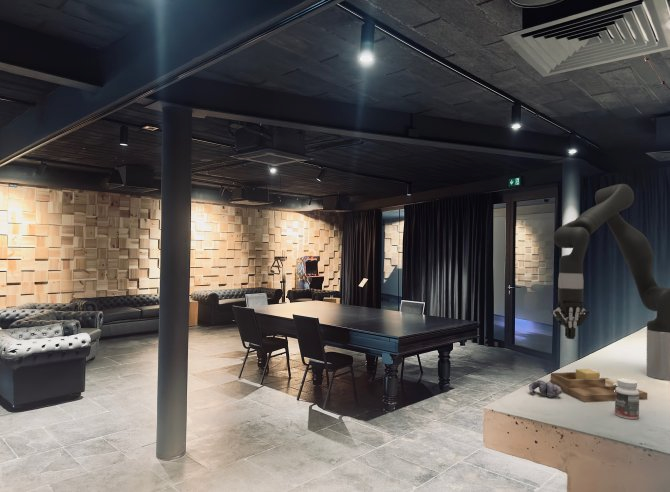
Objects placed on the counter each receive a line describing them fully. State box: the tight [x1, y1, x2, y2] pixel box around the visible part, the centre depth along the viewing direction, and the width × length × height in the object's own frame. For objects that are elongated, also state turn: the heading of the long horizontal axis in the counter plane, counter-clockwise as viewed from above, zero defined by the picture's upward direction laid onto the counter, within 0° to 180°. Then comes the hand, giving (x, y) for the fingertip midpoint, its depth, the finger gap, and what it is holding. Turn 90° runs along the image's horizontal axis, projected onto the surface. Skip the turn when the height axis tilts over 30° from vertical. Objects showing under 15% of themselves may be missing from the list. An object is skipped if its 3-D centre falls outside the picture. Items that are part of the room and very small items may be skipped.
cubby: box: [550, 371, 605, 388], centre depth 152 cm, size 14×9×2 cm, turn 99°
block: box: [575, 368, 601, 379], centre depth 153 cm, size 5×5×4 cm
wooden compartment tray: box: [549, 377, 648, 403], centre depth 150 cm, size 22×17×2 cm
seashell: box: [528, 379, 564, 398], centre depth 146 cm, size 5×5×10 cm
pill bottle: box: [614, 377, 640, 420], centre depth 128 cm, size 6×6×10 cm
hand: (570, 338), depth 152 cm, fingers closed
